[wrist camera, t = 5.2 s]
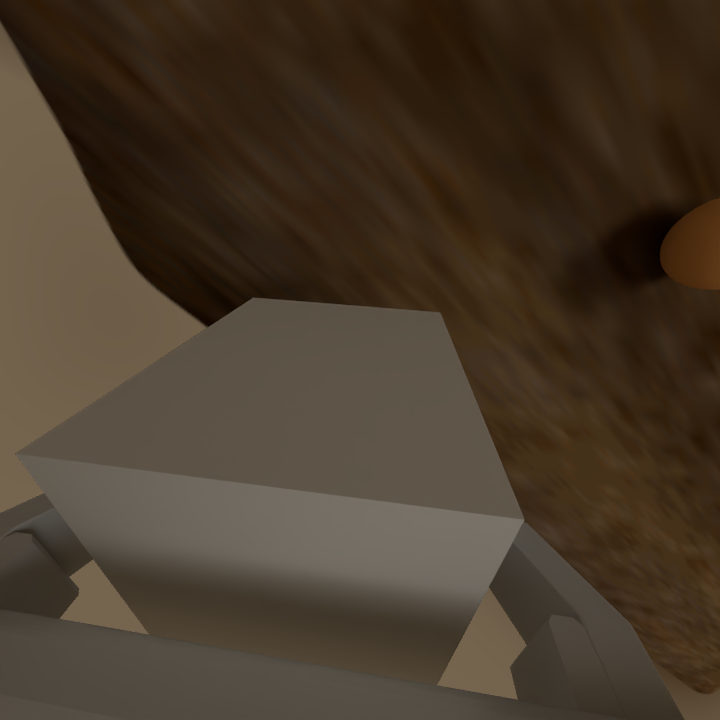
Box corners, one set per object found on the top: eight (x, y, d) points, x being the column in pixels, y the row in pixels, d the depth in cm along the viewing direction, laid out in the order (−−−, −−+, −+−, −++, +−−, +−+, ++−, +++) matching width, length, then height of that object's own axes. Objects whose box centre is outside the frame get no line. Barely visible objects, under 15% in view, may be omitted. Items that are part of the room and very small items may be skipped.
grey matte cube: (253, 297, 11) (15, 453, 4) (440, 312, 10) (524, 519, 4) (272, 435, 14) (158, 647, 7) (413, 452, 14) (431, 695, 7)
